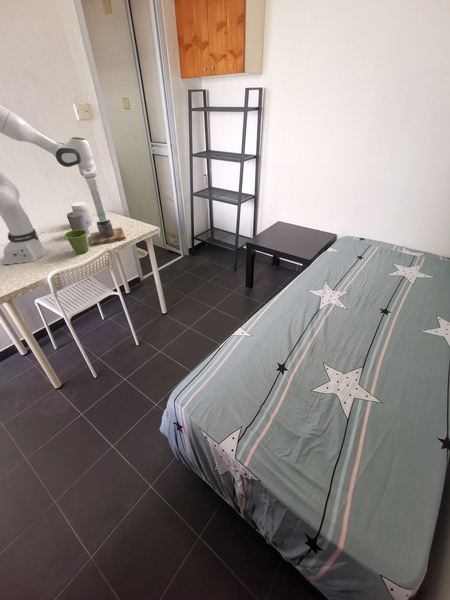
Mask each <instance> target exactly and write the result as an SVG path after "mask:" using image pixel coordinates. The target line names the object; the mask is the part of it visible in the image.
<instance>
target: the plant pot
mask: <svg viewBox="0 0 450 600" xmlns="http://www.w3.org/2000/svg"><path fill="white" fill-rule="evenodd" d="M63 237H65V238H66V240H67V241H68V242H69V244H70V246H71V247H72V249H73V252H74V253H75V254H77V255H82V254H86V253H87V252H89V246H88V245H89V243H88V238H87V237H88V234H87V231H86V230H82V229H78V230H72V229H71V230H70V231H67V232H66V233H64V236H63Z"/></svg>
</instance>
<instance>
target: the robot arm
mask: <svg viewBox="0 0 450 600" xmlns="http://www.w3.org/2000/svg"><path fill="white" fill-rule="evenodd" d="M0 134H2V135H4V136H6V137H8V138H10V139H12V140H15V141H18V142H23V143H24V142H25V143H30V144H33V145H35V146H38V147H39V148H41V149H43V150H45V151H46V152H48V153H50V154H52V155H53V156H54V157H55V159H56V161H57V163H59V165H61V166H62V167H65V168H66V167H67V168H70V167H73V166H77V167H78V169H79V174H80V176H82V177H83V178H84V179H85V182H86V184H87V187H88V188H89V191H90V193H91V192H93V195H94V197H95V199H97V198H98V196H97V191H98V192H99V189H98V188H99V187H98V182H97V174H98V170H97V166H96V162H95V160H94V155H93V152H92V148H91V145H90V143H89V141H88V140H86V138H82V137H78V136H76V137H75V136H74V137H71V138H70V139H69V140H68V141H67V142H66V143H63V142H58V141H55V140H53V139H51V138H50V137H48V136H46V135H44V134H42V133H41V132H39V131H38V130H36V129H35V128H34V127H33V126H32V125H30V124H29V122H27V121H26V120H24V119H23V118H22V117H21V116H19V115H18V114H16V113H15V112H13V111H12V110H10V109H8V108H7V107H4V106H3V105H1V104H0ZM20 196H21V195H20V191H19V189H18V187H17V186H16V185H15V184H14V183H12V181H11V180H10V179H9V178H8V177H7V176H6V175H5V174H3V172H2V171H0V217H1V219H2V220H3V222H4V223H5V225H6V227H7V229H8V233H7V239H8V241H9V242H7V244H6V245H5V247H4V248H3V257H2V258H1V263H2V264H3V265H4V264H5V265H4V266H7V265H6V264H9V265H15V264H14V263H17V264H24V263H23V262H25V263H30V262H35V261H36V260H37V259H39V258H42V257H43V256H45V255H46V254H47V253H48V251H47V249H46V248H45V246H44V245H43V243H42V242H41V241H40V239H39V236H38V233H37V231H36V229H35V228H34V227H33V225H32V223H31V221H30V217H29V216H28V214H27V213H26V212H25V210H24V208H23V207H22V205H21V203H20Z"/></svg>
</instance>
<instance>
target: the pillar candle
mask: <svg viewBox="0 0 450 600" xmlns="http://www.w3.org/2000/svg"><path fill="white" fill-rule="evenodd" d="M66 218H67V221H68V223H69V225H70V228H71V229H70V230H71V231H72V230H78V229H82V230H86V231H87V235H90V230H89V226H87V223H86V221H85V218H84V215H83V212H81V211H75V212H73V211H70V212H68V213H67V214H66Z"/></svg>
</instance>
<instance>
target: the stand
mask: <svg viewBox="0 0 450 600" xmlns="http://www.w3.org/2000/svg"><path fill="white" fill-rule="evenodd" d="M106 220H107V221H106V222H100V221H99V220H98V221H96V226H97V229H98V231H96V232H89V237H90V243H91V246H92V247H94V246H99V245H105V244H109V243H114V242H120V241H124V239H126V240H127V237H126V235H125V232H124V231H123V228H122V227H117V228H113V226H112V223H111V220H110V219H106Z"/></svg>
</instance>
